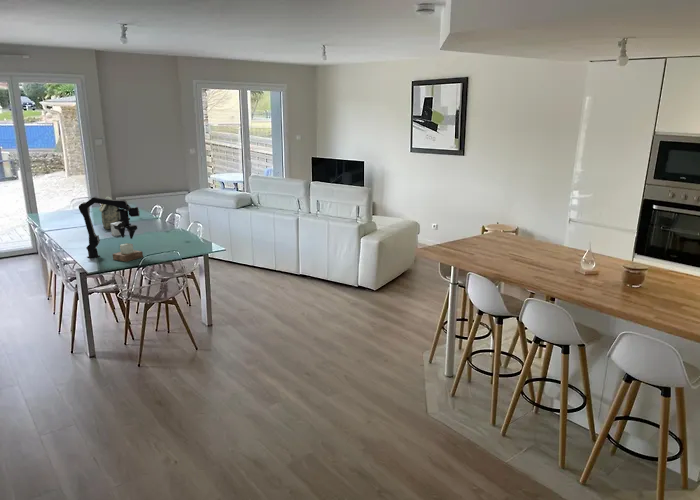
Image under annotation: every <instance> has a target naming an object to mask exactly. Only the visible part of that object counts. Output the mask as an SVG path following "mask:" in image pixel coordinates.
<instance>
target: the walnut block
mask: <svg viewBox="0 0 700 500" xmlns="http://www.w3.org/2000/svg"><path fill="white" fill-rule="evenodd" d="M133 250H134V252H133V253H129V254H122V253H121V251H118V252H115V253H112V260H115V261H120V262H126V263H127V262H130V261H134V260H136V259H140V258H141V259H142V258H144V254H143V253H144V252H143V251H142V250H136V249H133Z"/></svg>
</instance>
